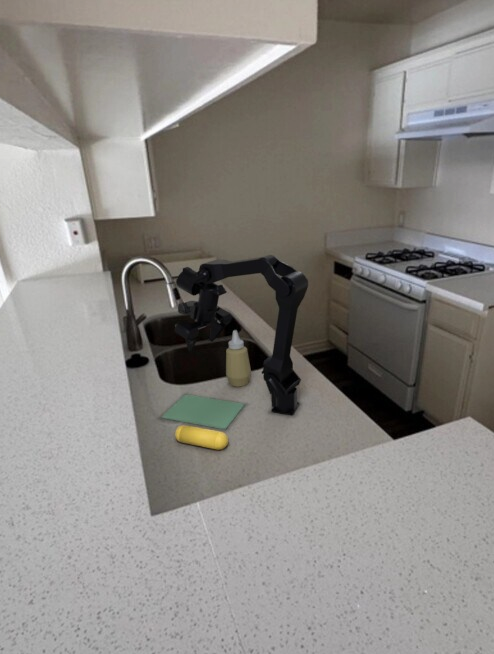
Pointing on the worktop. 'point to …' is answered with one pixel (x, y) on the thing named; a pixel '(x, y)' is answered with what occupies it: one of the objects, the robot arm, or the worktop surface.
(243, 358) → the squeeze bottle
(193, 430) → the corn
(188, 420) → the towel
